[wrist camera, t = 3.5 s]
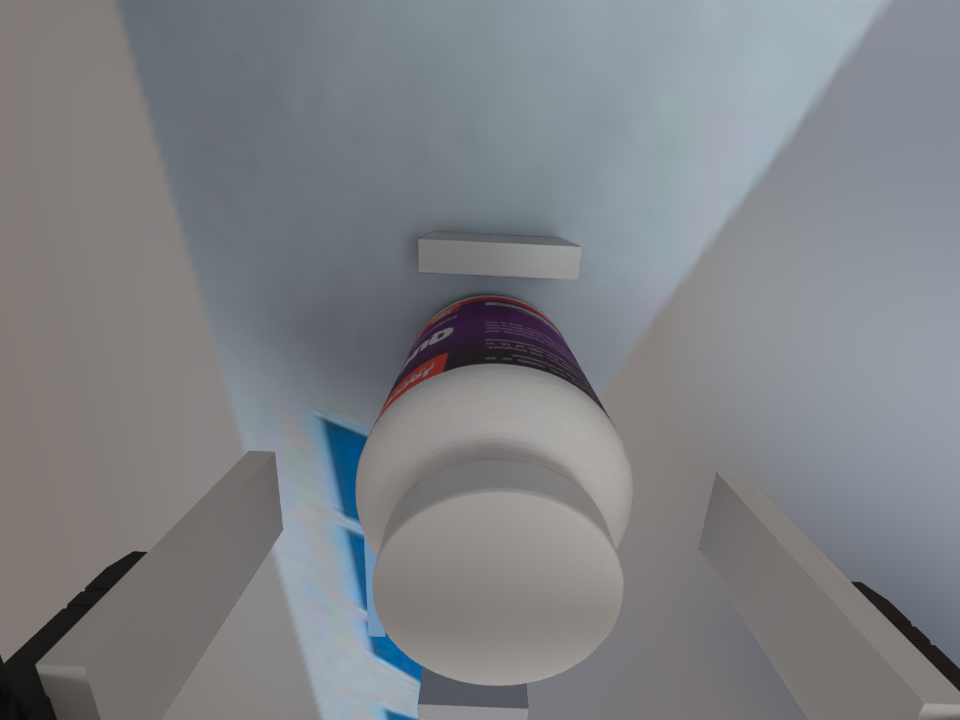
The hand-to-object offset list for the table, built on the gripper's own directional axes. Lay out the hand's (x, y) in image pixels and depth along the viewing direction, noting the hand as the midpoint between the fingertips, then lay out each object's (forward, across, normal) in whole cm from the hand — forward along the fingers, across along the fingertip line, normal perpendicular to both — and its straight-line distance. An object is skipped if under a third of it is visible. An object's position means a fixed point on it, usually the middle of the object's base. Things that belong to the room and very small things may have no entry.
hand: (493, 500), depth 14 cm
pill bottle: (+11, 0, +1) cm, 11 cm away
